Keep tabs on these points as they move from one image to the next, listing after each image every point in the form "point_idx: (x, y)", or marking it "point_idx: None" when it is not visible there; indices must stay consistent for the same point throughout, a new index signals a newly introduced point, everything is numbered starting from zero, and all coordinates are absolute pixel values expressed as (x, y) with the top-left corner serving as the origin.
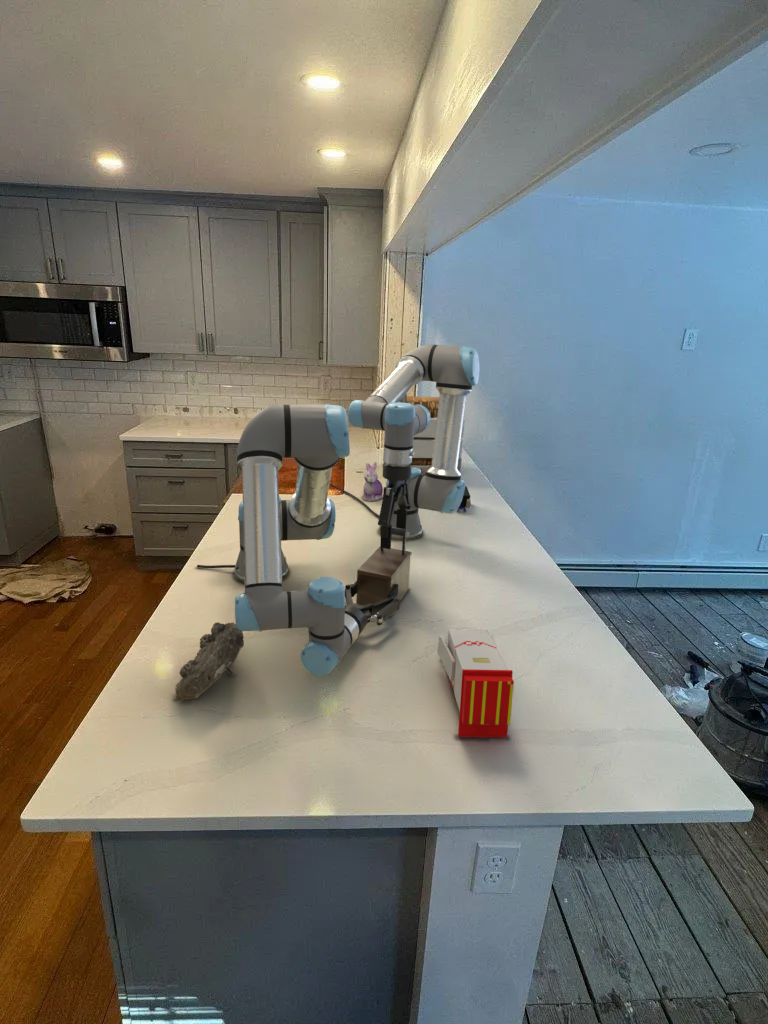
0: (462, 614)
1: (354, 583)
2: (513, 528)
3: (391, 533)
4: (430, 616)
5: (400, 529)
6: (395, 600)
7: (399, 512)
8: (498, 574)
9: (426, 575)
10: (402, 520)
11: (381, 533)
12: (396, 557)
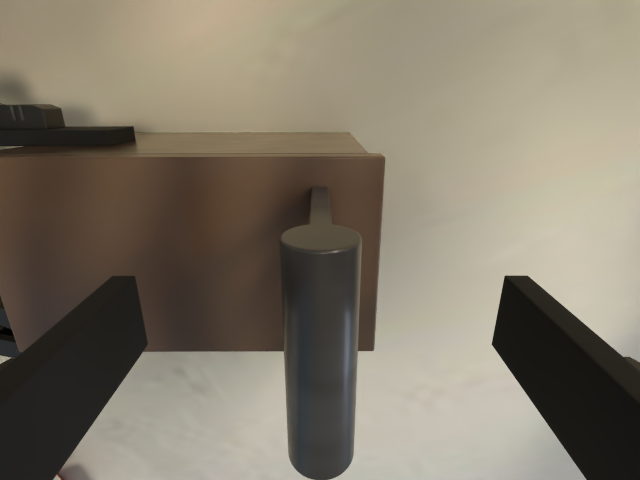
0: (262, 428)
1: (21, 132)
2: None
3: (69, 448)
4: (206, 361)
5: (304, 437)
6: (15, 346)
7: (633, 439)
8: (555, 467)
9: (485, 283)
10: (557, 395)
11: (23, 358)
12: (256, 306)
